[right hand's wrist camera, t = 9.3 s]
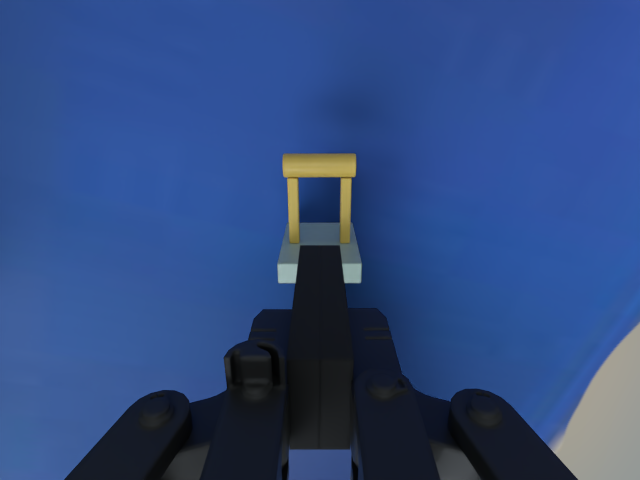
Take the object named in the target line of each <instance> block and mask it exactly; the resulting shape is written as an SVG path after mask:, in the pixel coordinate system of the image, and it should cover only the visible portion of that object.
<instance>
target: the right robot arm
mask: <svg viewBox="0 0 640 480" xmlns="http://www.w3.org/2000/svg"><path fill="white" fill-rule="evenodd" d="M224 364H225V373H226V382H227V390H225V391H224V392H222V393H220V394H218V395H217V396H214V397H211V398H208V399H204V400H200V401H196V402H192V403H189V400H188V399H187V397H186V396H185V395H184V394H182V393H180V392H177V391H174V390H162V391H158V392H154V393H150V394H148V395H146V396H144V397H142V398H140V399H139V400H137V401H136V402H135V403H134V404H133V405H131V406H130V407H129V408H128V409H127V410H126V412H125V413H124V414H123V415H122V416H121V417H120V418H119V419H118V420H117V422H116V423H115V424H114V425H113V426H112V427H111V428H110V429H109V430H108V432H107V433H106V434H105V435H104V436H103V437H102V438H101V439H100V440H99V442H98V443H97V444H96V445H95V446H94V447H93V448H92V449H91V450H90V452H89V453H88V454H87V455H86V456H85V457H84V458H83V459H82V460H81V462H80V463H79V464H78V465H77V466H76V467H75V468H74V469H73V470H72V472H71V473H70V474H69V475H68V476H67V477H66V478H65V479H64V480H289V445H290V450H350V445H351V476H350V480H578V479H577V478H576V477H575V476H574V475H573V474H572V473H571V471H570V470H569V469H568V468H567V467H566V466H565V465H564V464H563V463H562V461H561V460H560V459H559V458H558V457H557V456H556V455H555V454H554V453H553V451H552V450H551V449H550V448H549V447H548V446H547V445H546V444H545V443H544V442H543V440H542V439H541V438H540V437H539V436H538V435H537V434H536V433H535V432H534V431H533V429H532V428H531V427H530V426H529V425H528V424H527V423H526V422H525V421H524V419H523V418H522V417H521V416H520V415H519V414H518V413H517V412H516V411H515V410H514V408H513V407H512V406H511V405H510V404H508V403H507V402H506V401H505V400H504V399H502V398H501V397H499V396H497V395H495V394H493V393H491V392H489V391H485V390H480V389H464V390H462V391H459V392H457V393H456V394H455V395H454V396H453V397H452V399H451V402H450V401H446V400H442V399H438V398H434V397H431V396H428V395H425V394H423V393H421V392H419V391H417V390H415V389H414V388H413V387H412V385H411V383H410V381H409V380H408V379H407V378H406V377H405V376H404V375H402V372H401V369H400V365H399V362H398V358H397V354H396V351H395V347H394V344H393V340H392V337H391V333H390V331H389V326H388V322H387V319H386V317H385V316H384V315H383V314H382V313H381V312H380V311H379V310H378V309H377V308H347V299H346V291H345V283H344V275H343V266H342V258H341V250H340V245H300V250H299V258H298V266H297V275H296V283H295V291H294V299H293V307H292V309H263V310H262V311H261V312H260V313H259V314H258V315H257V316H256V317H255V318H254V320H253V324H252V327H251V332H250V335H249V338H248V340H247V341H245V342H242V343H239V344H237V345H235V346H234V347H232V348H231V349H230V350H228V352H227V354H226V355H225V357H224Z"/></svg>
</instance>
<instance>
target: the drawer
mask: <svg viewBox="0 0 640 480" xmlns="http://www.w3.org/2000/svg"><path fill="white" fill-rule="evenodd" d="M283 176H284V177H288V179H287V185H288V214H289V223H287V225H286V229H285V234H284V238H283V242H282V246H281V251H280V255H279V259H278V264H277V268H278V283H296V275H297V266H298V258H299V250H300V245H340V250H341V258H342V266H343V275H344V283H361V276H362V262H361V258H360V253H359V249H358V245H357V240H356V236H355V232H354V227H353V223H350V222H351V186H352V179H351V177H355V176H356V154H355V153H336V154H283ZM298 177H341V182H340V223H299V179H298Z"/></svg>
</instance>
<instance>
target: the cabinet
mask: <svg viewBox="0 0 640 480" xmlns="http://www.w3.org/2000/svg"><path fill="white" fill-rule="evenodd" d="M350 476H351V445H350V450H290V445H289V480H350Z"/></svg>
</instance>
